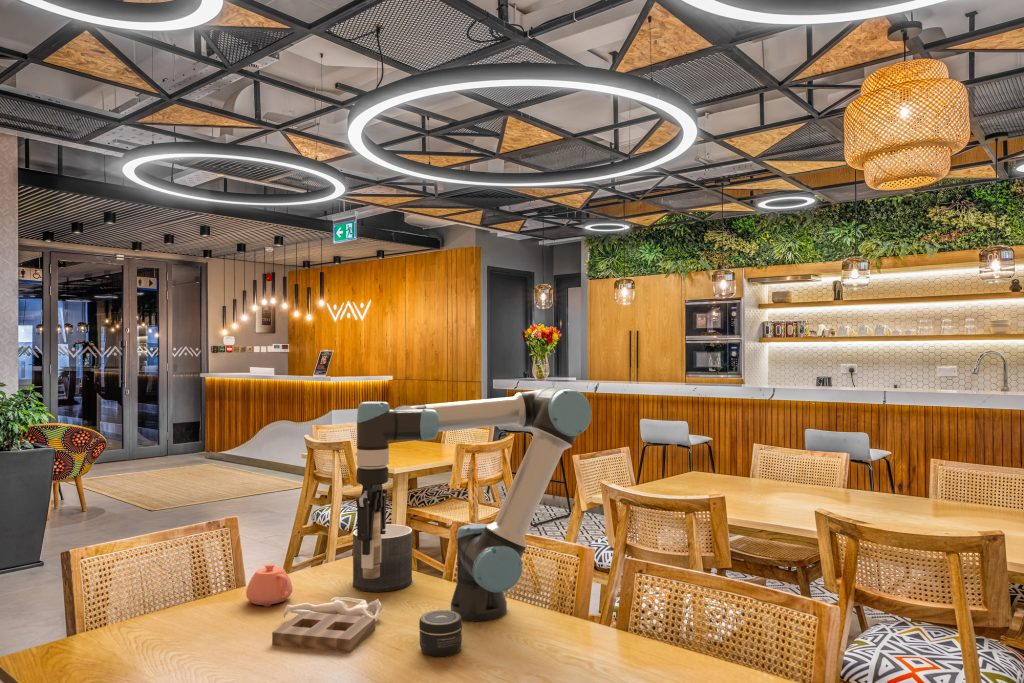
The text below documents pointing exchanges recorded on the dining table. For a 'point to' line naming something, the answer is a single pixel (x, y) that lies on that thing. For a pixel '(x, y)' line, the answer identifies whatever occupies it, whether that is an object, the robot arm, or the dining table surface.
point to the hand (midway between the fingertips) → (371, 564)
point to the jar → (440, 633)
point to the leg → (375, 550)
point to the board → (324, 631)
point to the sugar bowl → (269, 586)
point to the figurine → (339, 608)
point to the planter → (387, 561)
